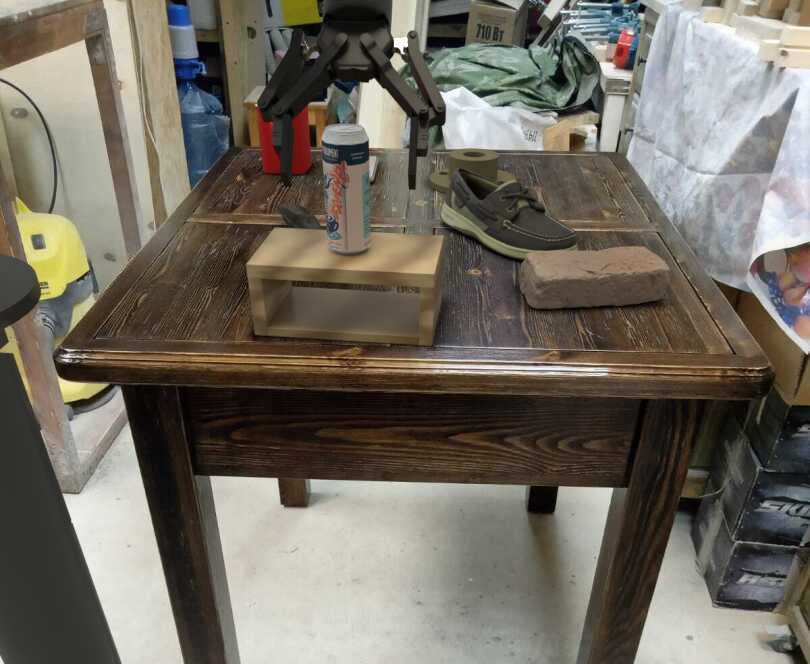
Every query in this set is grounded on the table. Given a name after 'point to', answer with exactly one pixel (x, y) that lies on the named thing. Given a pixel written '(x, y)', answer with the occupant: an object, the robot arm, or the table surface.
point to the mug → (300, 145)
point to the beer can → (347, 187)
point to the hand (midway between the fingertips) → (348, 181)
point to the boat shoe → (503, 216)
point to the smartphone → (372, 166)
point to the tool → (298, 217)
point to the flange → (470, 167)
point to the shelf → (347, 309)
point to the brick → (593, 277)
